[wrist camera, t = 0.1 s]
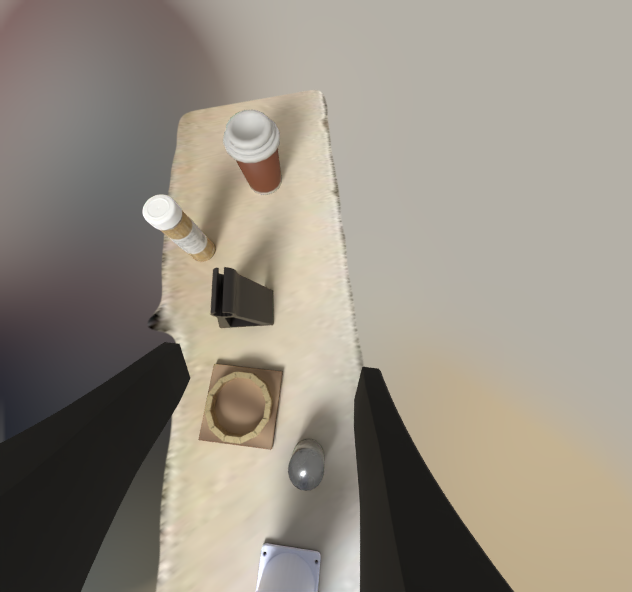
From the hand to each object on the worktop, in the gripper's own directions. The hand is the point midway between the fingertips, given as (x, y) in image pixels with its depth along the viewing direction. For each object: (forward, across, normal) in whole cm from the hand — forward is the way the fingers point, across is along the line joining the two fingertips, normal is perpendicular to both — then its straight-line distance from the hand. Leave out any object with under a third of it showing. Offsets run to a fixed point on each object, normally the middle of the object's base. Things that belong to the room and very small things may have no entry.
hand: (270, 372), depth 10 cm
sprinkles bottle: (+35, +22, +12) cm, 43 cm away
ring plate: (+16, +10, +29) cm, 34 cm away
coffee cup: (+47, +13, +2) cm, 49 cm away
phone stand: (+28, +12, +19) cm, 35 cm away
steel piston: (+12, -2, +32) cm, 34 cm away
